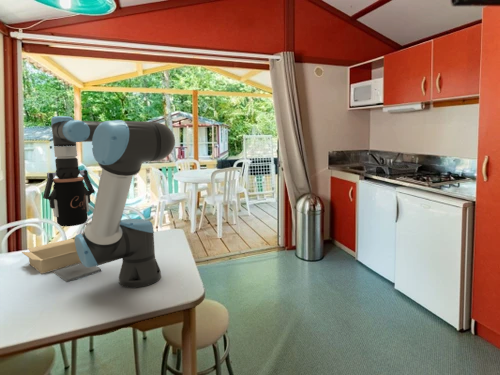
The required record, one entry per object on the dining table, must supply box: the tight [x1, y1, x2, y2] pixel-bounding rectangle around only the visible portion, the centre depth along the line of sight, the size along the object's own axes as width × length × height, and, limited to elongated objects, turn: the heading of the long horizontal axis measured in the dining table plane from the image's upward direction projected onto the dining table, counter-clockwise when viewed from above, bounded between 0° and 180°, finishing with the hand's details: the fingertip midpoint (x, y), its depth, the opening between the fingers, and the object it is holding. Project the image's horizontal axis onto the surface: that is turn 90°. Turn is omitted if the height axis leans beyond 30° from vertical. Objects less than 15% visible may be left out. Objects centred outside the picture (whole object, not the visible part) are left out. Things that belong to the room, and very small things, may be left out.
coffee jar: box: [52, 176, 89, 227], centre depth 125 cm, size 11×11×18 cm
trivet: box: [53, 263, 102, 283], centre depth 129 cm, size 13×13×1 cm
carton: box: [21, 238, 81, 274], centre depth 141 cm, size 20×24×6 cm
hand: (72, 213), depth 126 cm, fingers closed on coffee jar, 11 cm apart
